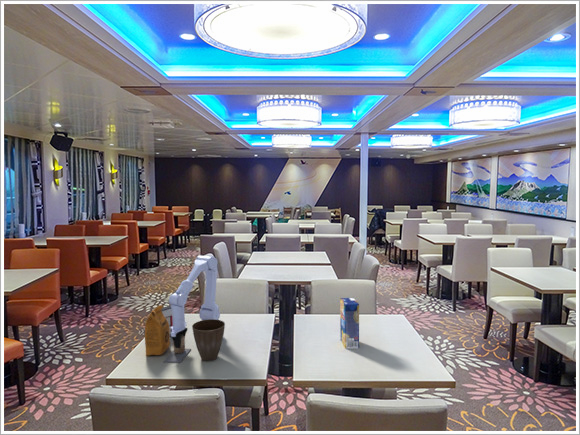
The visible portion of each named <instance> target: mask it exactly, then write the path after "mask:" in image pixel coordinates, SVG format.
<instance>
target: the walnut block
mask: <svg viewBox="0 0 580 435" xmlns="http://www.w3.org/2000/svg"><path fill="white" fill-rule="evenodd" d="M185 338H186V337H185ZM185 338H184V336H182V338H181V346H180V348H175V344H174V341H173V340H172V342H173V350H174V353H183V351H184V350H185V349H186V345H185V344H186V341H185V340H186V339H185Z"/></svg>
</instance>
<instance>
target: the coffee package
mask: <svg viewBox="0 0 580 435" xmlns="http://www.w3.org/2000/svg"><path fill="white" fill-rule="evenodd" d="M162 308H164V306H163V304H160V305H157V306H156V307H155V308H153V310H151V312H150V314H149V316H148V318H147V319H146V321H145V325H144V345H145V356H147V357H148V356H160V355H161V356H162V355H163V354H164V353H165V352H166V351H167V350H168V348H169V347H170V346H171V341H170V340H171V339H170V338H171V337H170V335H169V324H168V321H167V319H166V318H165V316H164V315H163V313H162V310H161V309H162Z"/></svg>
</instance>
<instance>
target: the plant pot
mask: <svg viewBox="0 0 580 435" xmlns="http://www.w3.org/2000/svg"><path fill="white" fill-rule="evenodd" d="M191 325H192V326H191V327H192V334H193V338H194V341H195V346H196V349H197V352H198V354H199V357H200V359H201V360H202V361H204V362H211V361H212V362H213V361H215V360H216V359H218V357H219V353H220V350H221V348H222V344H223V338H224V335H225V334H224V333H225V328H226V324H225V321H223V320H221V319H219V320H216V319H208V320H202V319H201V320H198V321H196V322H194V323H193V324H191Z"/></svg>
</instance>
